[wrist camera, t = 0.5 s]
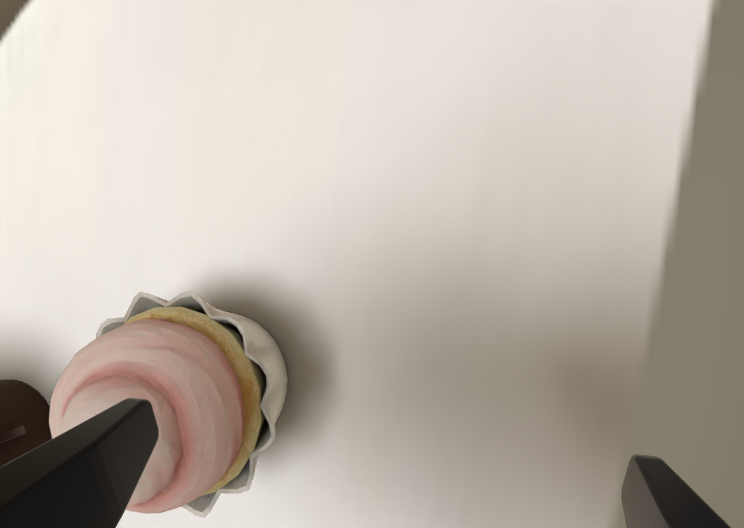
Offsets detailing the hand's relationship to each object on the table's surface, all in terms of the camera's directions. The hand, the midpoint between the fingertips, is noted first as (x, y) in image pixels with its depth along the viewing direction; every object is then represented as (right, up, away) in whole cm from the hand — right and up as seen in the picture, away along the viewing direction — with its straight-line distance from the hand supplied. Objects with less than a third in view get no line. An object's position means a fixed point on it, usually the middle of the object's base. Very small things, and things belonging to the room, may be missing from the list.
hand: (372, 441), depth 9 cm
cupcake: (-7, -2, +16) cm, 18 cm away
